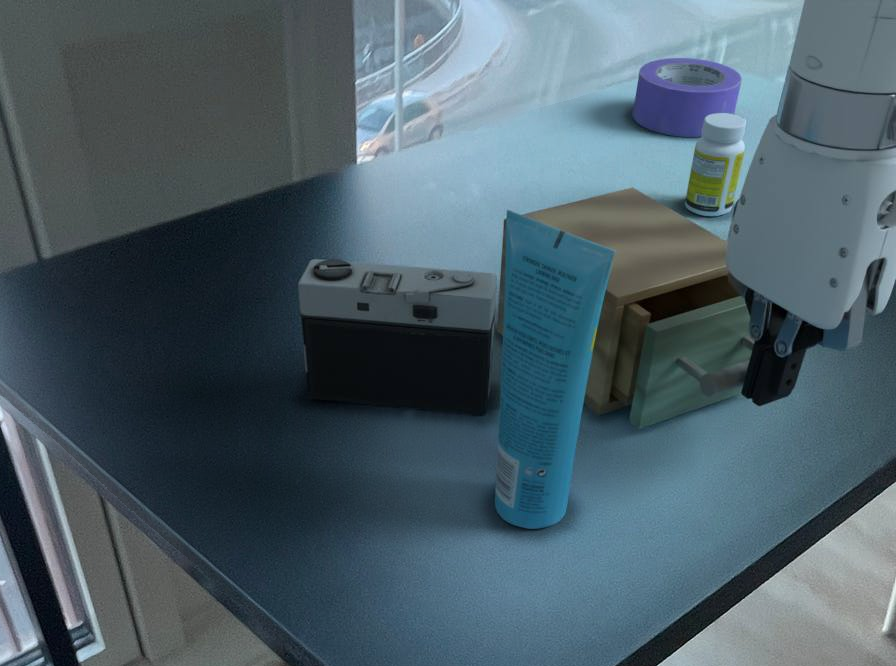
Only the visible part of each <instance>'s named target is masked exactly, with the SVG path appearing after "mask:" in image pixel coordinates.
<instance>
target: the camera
mask: <svg viewBox="0 0 896 666" xmlns="http://www.w3.org/2000/svg"><path fill="white" fill-rule="evenodd" d="M497 285H498V276H497V275H496V273H495V274H494V273H492V272H481V271H468V270H457V269H443V268H433V267H432V268H431V267H421V266H419V267H418V266H408V265H407V266H406V265H394V264H381V263H369V262H356V261H346V260H342V259H335V258H330V259H318V258H314V259H311V260H310V261H309V263H308V264H307V266H306V268H305V270H304V271H303V274H302V275H301V278H300V279H299V280H298V283H297V286H298V287H297V288H298V298H299V299H298V300H299V310H300V312H299V313H300V320H301V329H302V330H301V331H302V339H303V344H302V345H303V358H304V369H305V374H306V375H305V376H306V385H307V396H308V397H307V398H308V399H310V400H321V401H333V402H339V403H342V402H343V403H352V404H361V405H362V404H363V405H370V406H371V405H373V406H382V407H383V406H384V407H391V408H393V407H394V408H402V409H403V408H404V409H414V410H422V411H423V410H425V411H434V412H445V413H455V414H466V415H477V416H485V415H486V412H487V407H488V404H489V399H490V393H491V384H492V370H493V354H494V353H493V352H494V336H495V320H496V301H497Z"/></svg>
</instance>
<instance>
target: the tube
mask: <svg viewBox="0 0 896 666" xmlns="http://www.w3.org/2000/svg"><path fill="white" fill-rule="evenodd" d="M505 217H506V218H505V219H506V258H505V298H504V325H503V336H502V350H501V351H502V353H501V372H500V373H501V375H500V394H499V395H500V396H499V397H500V398H499V400H500V401H499V415H498V416H499V417H498V418H499V419H498V434H497V435H498V436H497V437H498V438H497V456H496V473H495V474H496V475H495V494H494V508H495V510H496V512H497V514H498V515H499V516H500V518H501V519H502V520H503V521H505V522H507V523H508V524H511V525H513V526H515V527H519V528H524V529H529V530H535V529H542V528H547V527H551V526H553V525H556V524H557V523H559V522H560V521H562V519H564V517H565V515H566V513H567V508H568V504H569V503H568V502H569V495H570V490H571V482H572V477H573V470H574V464H575V463H574V462H575V458H576V457H575V456H576V451H577V450H576V449H577V444H578V439H579V438H578V437H579V431H580V425H581V419H582V414H583V408H584V403H583V402H584V396H585V391H586V385H587V379H588V374H589V369H590V363H591V358H592V353H593V347H594V342H595V337H596V332H597V327H598V322H599V317H600V313H601V308H602V304H603V299H604V295H605V290H606V286H607V283H608V279H609V275H610V272H611V267H612V262H613V258H614V256H615V253H616V251H615V250H613V249H610V248H607V247H604V246H602V245H599V244H597V243H594V242H591V241H588V240H585V239H583V238H580V237H577V236H574V235H572V234H569V233H567V232H563V231H562V230H559V229H557V228H554V227H551V226H549V225H546V224H544V223H542V222H539V221H537V220H534V219H531V218H529V217H526V216H523V215H522V214H520V213H518V212H514V211H513V210H510V209H507V210H506V216H505Z"/></svg>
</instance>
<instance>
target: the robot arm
mask: <svg viewBox="0 0 896 666" xmlns="http://www.w3.org/2000/svg"><path fill="white" fill-rule="evenodd" d="M790 55H791V56H790V60H789V64H788V66H787V70H786V75H785V78H784V83H783V87H782V90H781V95H780V99H779V103H778V107H777V111H776V114H775V115H773V116H772V117H770V118H769V120H768V123H767V125H766V126H765V128H764V131H763V133H762V135H761V137H760V139H759V142H758V144H757V147H756V149H755V152H754V154H753V157H752V160H751V162H750V165H749V168H748V170H747V173H746V176H745V179H744V182H743V185H742V189H741V192H740V194H739V198H738V199H739V201H738V200H737V201H738V204H737V208H736V211H735V215H734V219H733V223H732V227H731V231H730V235H729V240H728V246H727V253H726V265H727V268H728V270H729V273H728V276H727V277H728V282H729V284H730V285H731V286H732V287H733V288H734V289H735V290H736V291H737V292H738V293H739V294H740V295H741V296H742V298H745V303H746V306H747V309H748V312H749V315H750V323H749V335H750V337H751V339H752V340H754V341H755V342H754V346H753V349H752V353H751V357H750V361H749V364H748V368H747V372H746V376H745V380H744V384H743V388H742V391H741V395H742V396H743V397H744V398H746V399H747V400H750V399H751V402H752V403H753V404H754V405H755V406H757V407H762V406H765V405H769V404H770V403H773V402H776V401H779V400H781V399H785V398H788V397H789V396H790V395H791V394H792V393H793V391H794V389H795V387H796V385H797V381H798V378H799V375H800V372H801V369H802V365H803V362H804V358H805V356H806V351H807V350H808V349H811V348H814V347H816V346H817V345H820V346H821V347H823V348H828V349H831V350H835V351H838V352H845V351H848V350H851V349H854V348H856V347H859V346H860V345H861V343H862V341H863V334H864V326H865V320H866V319H865V318H866V315H867V316H877V315H879V314H881V313H882V312H883V311H884V310H885V309H886V306H887V304H888V302H889V300H890V297H891V295H892V291H893V289H894V286H895V284H896V0H804V1H803V4H802V9H801V13H800V18H799V22H798V26H797V30H796V34H795V38H794V43H793V46H792V52H791V54H790Z"/></svg>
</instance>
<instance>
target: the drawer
mask: <svg viewBox="0 0 896 666" xmlns="http://www.w3.org/2000/svg"><path fill="white" fill-rule="evenodd" d="M727 276H728V275H725V276H721V277H718V278H714V279H711V280H708V281H704V282H701V283H697V284H694V285H691V286H687V287H684V288H680V289H677V290H674V291H670V292H667V293H663V294H660V295H656V296H653V297H650V298H646V299H643V300H639V301H636V302H633V303H629V304H626V305H624V310H623V316H622V322H621V328H620V335H619V341H618V347H617V353H616V360H615V366H614V372H613V378H612V385H611V391H610V393H611V394H612V395H613V396H614V397H616V398H617V399H618V400H619V401H621V402H622V403H623V404H625V405H626V407H628V405H629V406H631V408H630V414H629V418H628V421H629V422H630V423H631V424H632V425H633V426H635V428H637V429H639V430H640V429H642V428H645V427H649V426H651V425H654V424H657V423H660V422H663V421H666V420H669V419H672V418H674V417H677V416H680V415H683V414H685V413H688V412H692V411H695V410H697V409H700V408H703V407H705V406H709V405H712V404H714V403H717V402H721V401H723V400H726V399H729V398H732V397H734V396H737V395H740V394H741V391H742V388H743V384H744V380H745V376H746V372H747V368H748V364H749V361H750V357H751V353H752V349H753V346H754V342H755V341H754V340H752V339H751V337H750V335H749V323H750V315H749V312H748V309H747V306H746V303H745V298H742V296H741V295H740V294H739V293H738V292H737V291H736V290H735V289H734V288H733V287H732V286H731V285H730V284H729V282H728V277H727ZM741 395H742V394H741ZM631 404H632V405H631Z"/></svg>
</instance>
